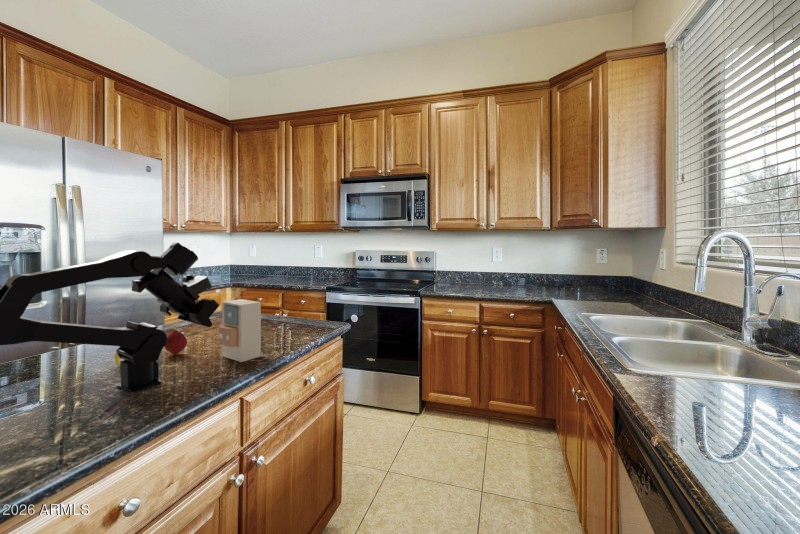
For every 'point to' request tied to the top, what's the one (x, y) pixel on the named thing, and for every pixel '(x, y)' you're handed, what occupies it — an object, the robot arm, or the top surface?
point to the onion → (175, 342)
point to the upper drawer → (231, 314)
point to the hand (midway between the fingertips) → (210, 325)
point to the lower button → (228, 336)
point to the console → (245, 330)
